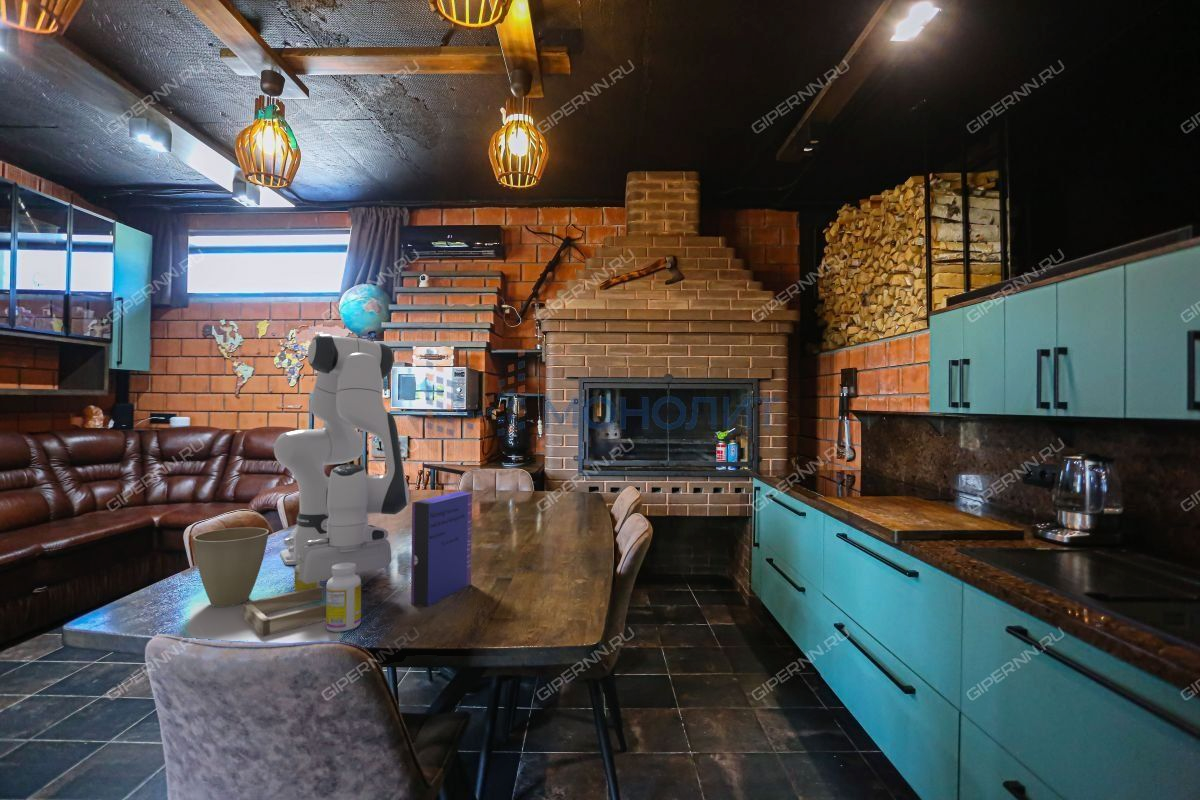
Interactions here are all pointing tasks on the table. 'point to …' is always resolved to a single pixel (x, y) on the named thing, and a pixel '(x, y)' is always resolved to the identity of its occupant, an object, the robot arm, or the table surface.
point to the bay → (279, 623)
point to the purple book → (440, 547)
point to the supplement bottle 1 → (298, 583)
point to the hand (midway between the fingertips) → (346, 593)
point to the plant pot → (230, 562)
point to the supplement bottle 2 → (343, 598)
